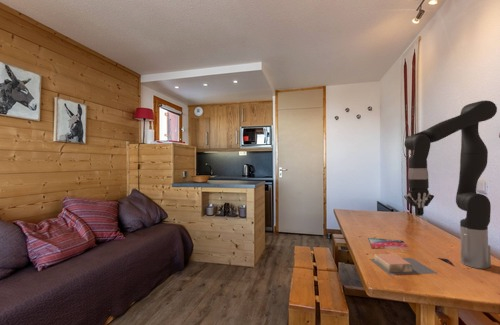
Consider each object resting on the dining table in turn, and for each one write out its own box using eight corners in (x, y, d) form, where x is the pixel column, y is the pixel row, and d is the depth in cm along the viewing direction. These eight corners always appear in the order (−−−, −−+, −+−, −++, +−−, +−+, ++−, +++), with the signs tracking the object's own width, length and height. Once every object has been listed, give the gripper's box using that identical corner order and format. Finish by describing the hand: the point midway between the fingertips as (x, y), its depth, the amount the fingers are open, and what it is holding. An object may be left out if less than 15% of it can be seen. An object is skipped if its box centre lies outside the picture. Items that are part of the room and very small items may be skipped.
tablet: (403, 241, 143) (402, 240, 143) (415, 257, 119) (415, 255, 119) (367, 238, 150) (367, 237, 150) (372, 252, 126) (372, 251, 126)
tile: (394, 253, 113) (373, 254, 113) (412, 264, 101) (389, 264, 101) (394, 260, 113) (374, 260, 113) (412, 271, 101) (389, 272, 101)
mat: (411, 259, 115) (411, 257, 115) (438, 275, 99) (438, 273, 99) (369, 261, 115) (369, 259, 115) (388, 276, 99) (388, 274, 99)
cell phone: (412, 256, 120) (412, 254, 120) (448, 261, 114) (448, 259, 114) (415, 262, 113) (415, 260, 113) (454, 267, 107) (454, 265, 107)
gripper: (426, 177, 113) (427, 213, 113) (398, 178, 112) (400, 214, 112) (438, 178, 105) (440, 216, 105) (409, 179, 105) (411, 217, 105)
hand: (419, 215), depth 109 cm, fingers closed
